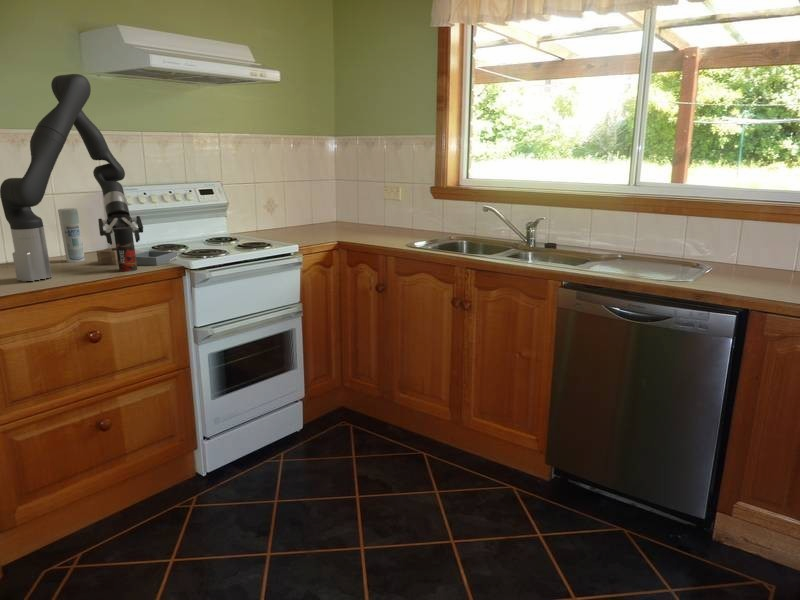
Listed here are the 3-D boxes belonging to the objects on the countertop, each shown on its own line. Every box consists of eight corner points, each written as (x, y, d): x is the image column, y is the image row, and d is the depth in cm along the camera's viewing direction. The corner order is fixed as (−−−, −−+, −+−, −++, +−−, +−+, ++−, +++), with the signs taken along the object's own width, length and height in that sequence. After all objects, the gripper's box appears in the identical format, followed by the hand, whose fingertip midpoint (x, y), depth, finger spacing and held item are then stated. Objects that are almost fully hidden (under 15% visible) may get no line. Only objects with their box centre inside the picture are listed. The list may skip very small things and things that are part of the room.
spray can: (81, 258, 233) (73, 207, 228) (88, 260, 229) (80, 208, 223) (63, 261, 228) (55, 209, 223) (70, 263, 224) (61, 210, 219)
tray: (156, 265, 216) (155, 257, 216) (127, 264, 220) (126, 256, 219) (177, 259, 228) (176, 251, 227) (149, 258, 231) (148, 250, 231)
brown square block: (116, 264, 219) (114, 251, 218) (98, 264, 221) (96, 250, 220) (130, 260, 226) (129, 247, 225) (113, 260, 228) (111, 247, 227)
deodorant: (117, 272, 206) (111, 229, 202) (120, 268, 212) (114, 227, 208) (136, 270, 208) (130, 228, 204) (138, 267, 213) (133, 226, 209)
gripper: (94, 201, 209) (101, 237, 202) (137, 198, 216) (145, 233, 209) (95, 214, 214) (102, 250, 208) (137, 212, 221) (145, 246, 215)
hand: (124, 242), depth 208 cm, fingers open, 8 cm apart
